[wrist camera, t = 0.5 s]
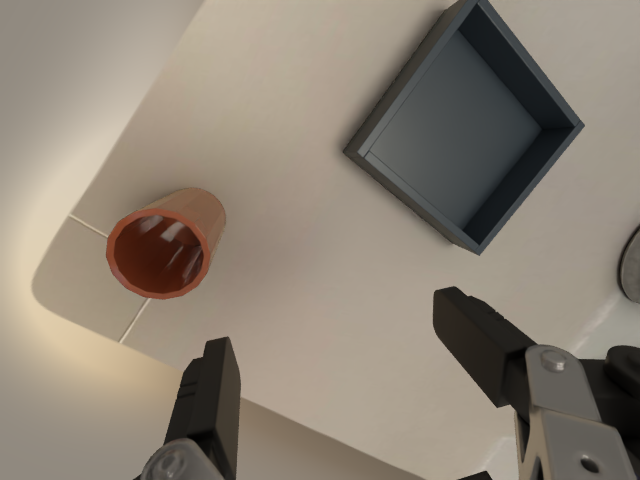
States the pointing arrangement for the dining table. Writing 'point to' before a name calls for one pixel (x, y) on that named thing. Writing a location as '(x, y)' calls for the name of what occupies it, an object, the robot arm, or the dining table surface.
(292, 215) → the dining table surface
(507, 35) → the tray
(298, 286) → the dining table surface
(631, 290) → the mug
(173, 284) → the tumbler
